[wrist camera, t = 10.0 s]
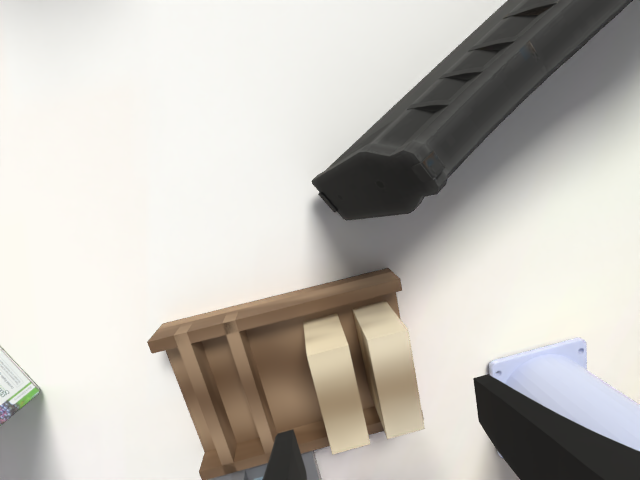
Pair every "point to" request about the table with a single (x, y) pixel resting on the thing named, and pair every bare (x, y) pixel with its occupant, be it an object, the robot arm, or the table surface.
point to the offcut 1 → (335, 383)
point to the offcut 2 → (389, 368)
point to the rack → (265, 369)
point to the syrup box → (13, 387)
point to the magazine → (459, 105)
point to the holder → (247, 476)
